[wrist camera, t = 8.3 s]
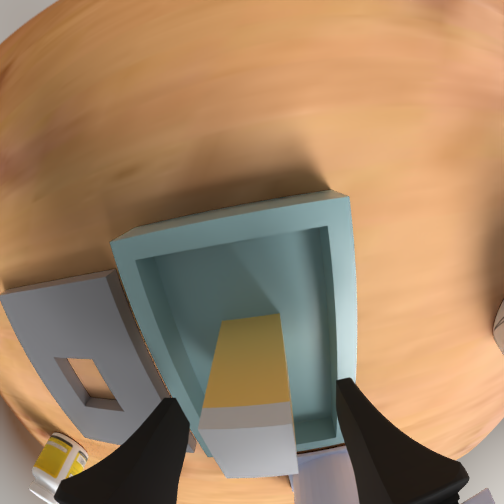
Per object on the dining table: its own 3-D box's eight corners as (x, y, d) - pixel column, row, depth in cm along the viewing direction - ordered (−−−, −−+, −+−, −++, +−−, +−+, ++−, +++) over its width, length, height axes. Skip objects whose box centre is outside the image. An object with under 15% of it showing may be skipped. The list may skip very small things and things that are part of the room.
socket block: (196, 441, 19) (194, 452, 18) (89, 429, 20) (85, 437, 19) (115, 268, 14) (105, 276, 13) (7, 289, 15) (-2, 295, 14)
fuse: (287, 370, 15) (298, 473, 8) (237, 376, 15) (226, 478, 9) (279, 313, 14) (292, 423, 7) (221, 320, 14) (197, 429, 7)
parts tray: (342, 413, 17) (350, 441, 15) (212, 429, 18) (207, 457, 16) (331, 189, 13) (349, 196, 10) (135, 227, 14) (109, 241, 11)
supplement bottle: (47, 432, 22) (18, 482, 13) (62, 429, 21) (30, 487, 12) (78, 457, 23) (54, 508, 14) (96, 456, 22) (71, 515, 13)
